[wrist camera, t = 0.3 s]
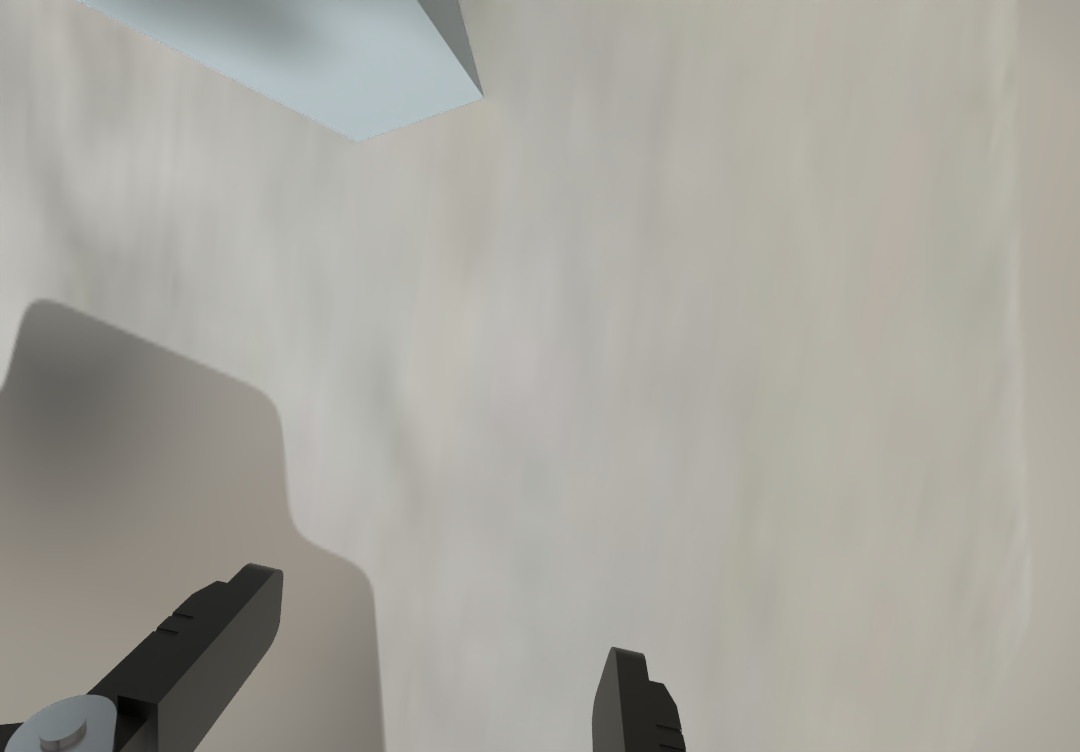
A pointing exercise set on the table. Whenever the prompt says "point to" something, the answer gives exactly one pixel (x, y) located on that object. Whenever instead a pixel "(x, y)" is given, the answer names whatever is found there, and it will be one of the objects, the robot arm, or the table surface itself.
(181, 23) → the slate pedestal
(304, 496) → the table surface
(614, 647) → the robot arm
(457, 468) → the table surface
